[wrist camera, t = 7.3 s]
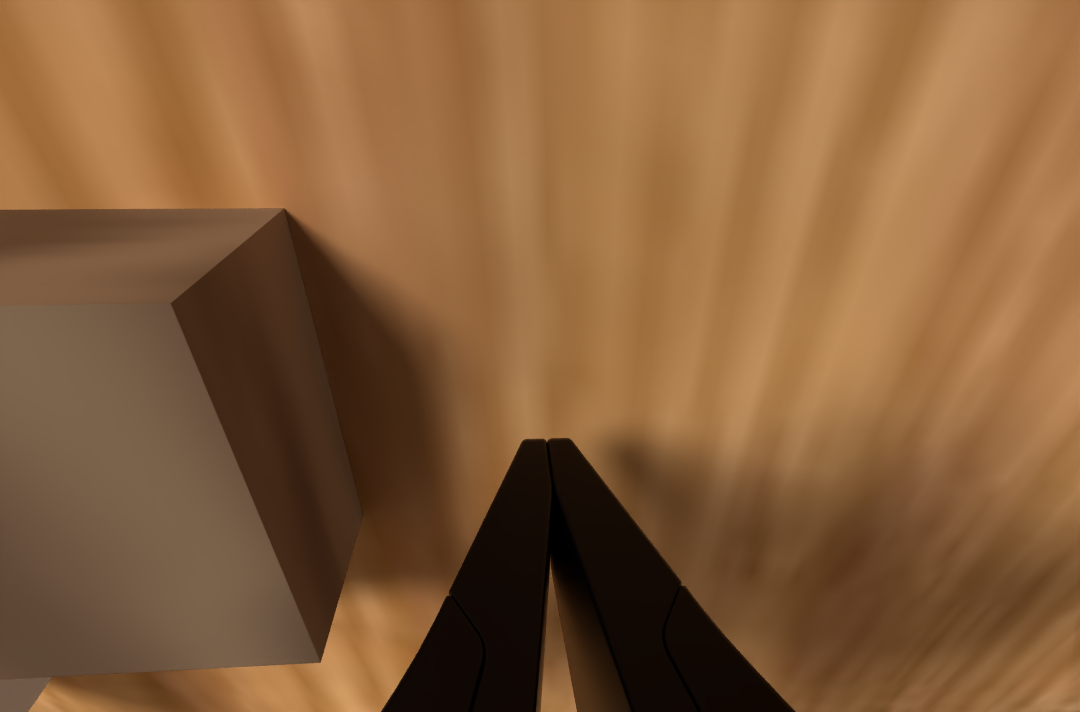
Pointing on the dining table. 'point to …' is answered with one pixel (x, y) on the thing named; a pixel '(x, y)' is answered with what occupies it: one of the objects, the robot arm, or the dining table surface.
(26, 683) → the plank
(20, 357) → the walnut block
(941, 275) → the dining table surface
